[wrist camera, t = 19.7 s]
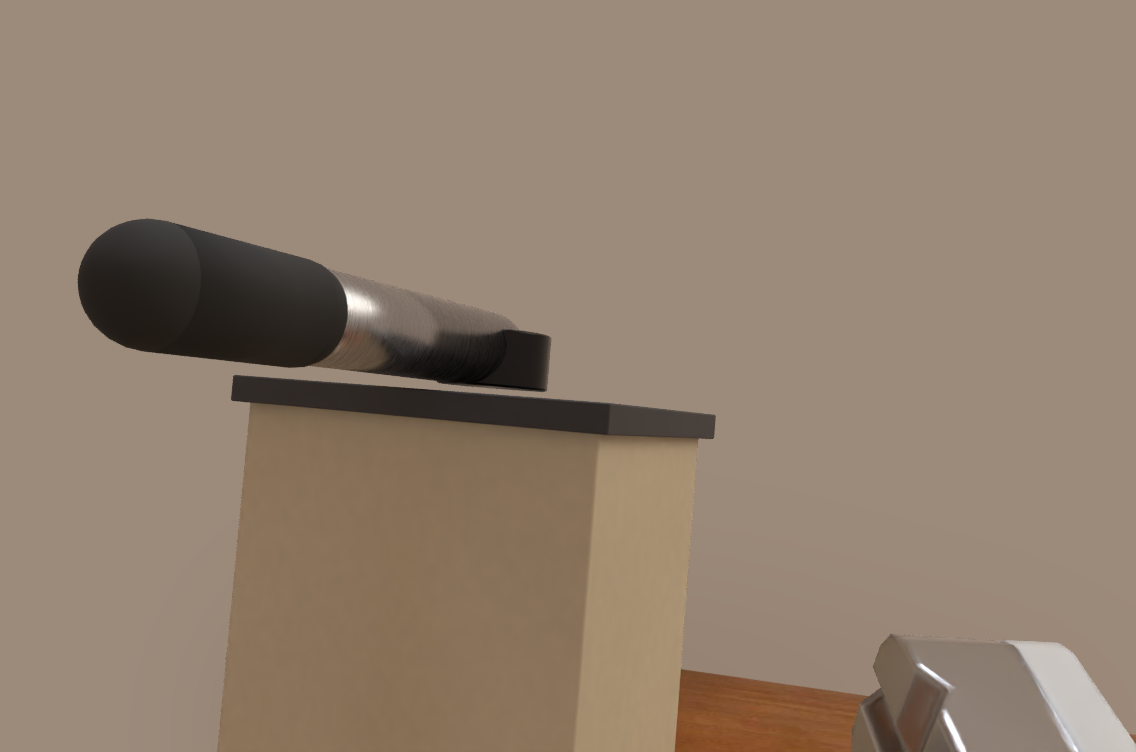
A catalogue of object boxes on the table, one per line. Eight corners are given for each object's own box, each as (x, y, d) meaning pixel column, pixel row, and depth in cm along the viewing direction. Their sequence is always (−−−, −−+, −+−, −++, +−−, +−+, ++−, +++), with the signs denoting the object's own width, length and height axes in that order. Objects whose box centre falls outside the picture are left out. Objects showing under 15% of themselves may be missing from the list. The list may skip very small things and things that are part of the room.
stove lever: (155, 349, 16) (171, 202, 16) (22, 341, 18) (37, 206, 18) (565, 396, 31) (571, 319, 31) (473, 389, 33) (479, 316, 33)
